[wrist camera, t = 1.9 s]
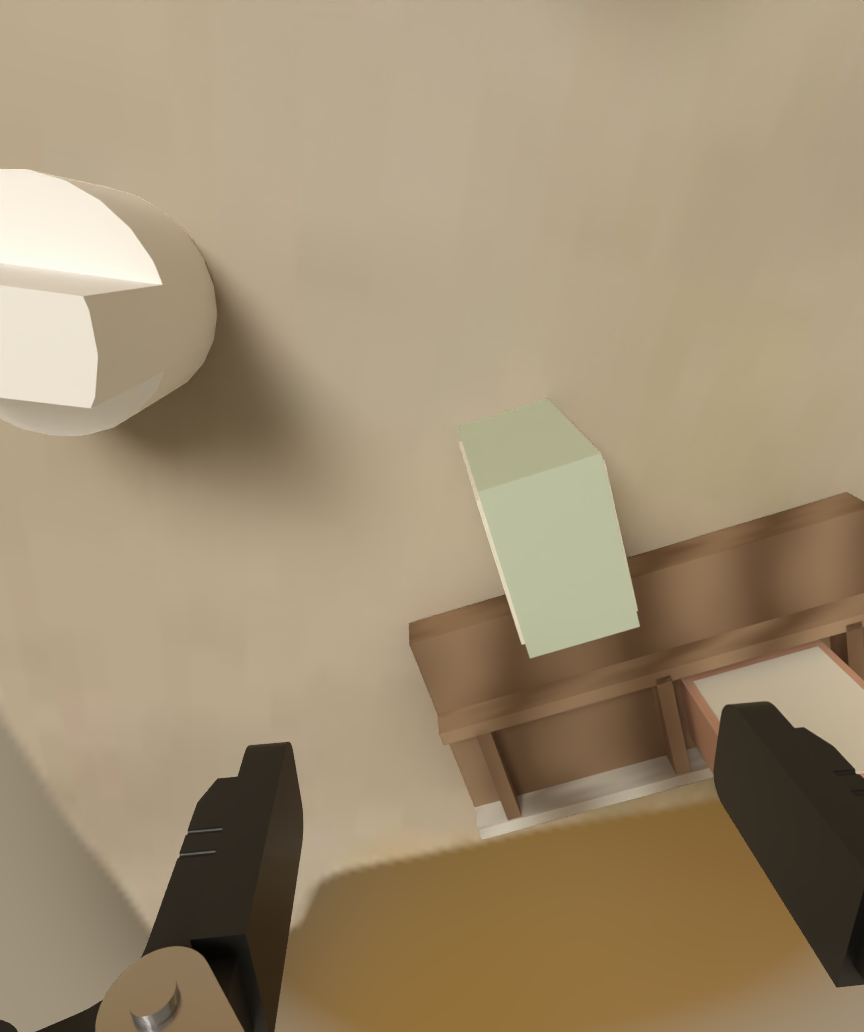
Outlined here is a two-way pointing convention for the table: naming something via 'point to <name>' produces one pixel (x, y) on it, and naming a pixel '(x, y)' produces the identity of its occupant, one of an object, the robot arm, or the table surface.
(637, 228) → the table surface
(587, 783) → the display rack
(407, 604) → the table surface
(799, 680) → the terracotta tea box
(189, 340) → the white upright block
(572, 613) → the sage tea box
